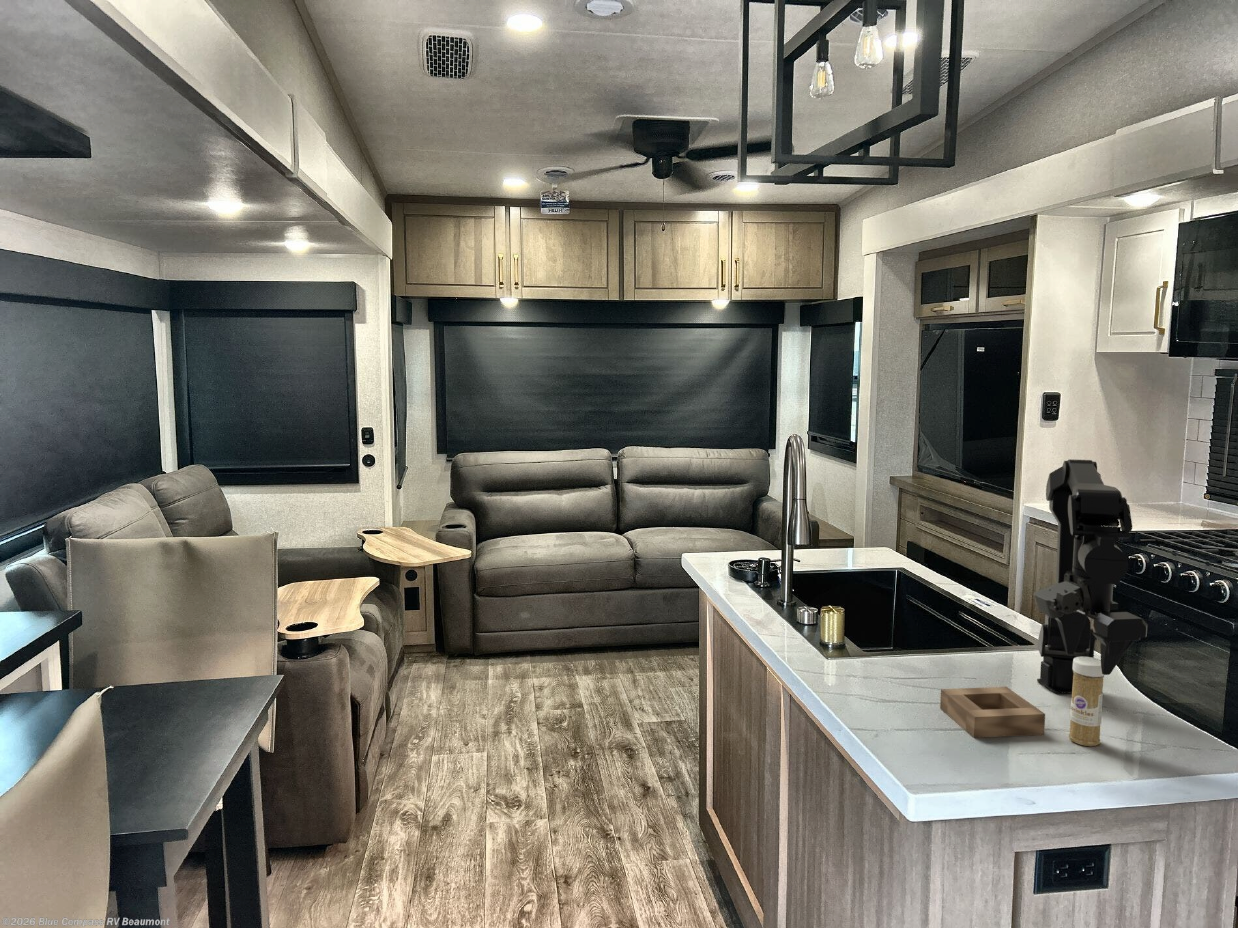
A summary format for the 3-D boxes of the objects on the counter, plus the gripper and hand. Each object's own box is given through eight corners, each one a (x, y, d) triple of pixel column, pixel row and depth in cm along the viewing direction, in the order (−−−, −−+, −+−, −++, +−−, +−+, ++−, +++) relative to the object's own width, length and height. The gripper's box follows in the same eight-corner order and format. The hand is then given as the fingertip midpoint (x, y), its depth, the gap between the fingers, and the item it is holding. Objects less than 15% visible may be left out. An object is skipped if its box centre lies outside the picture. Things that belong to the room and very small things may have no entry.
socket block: (1005, 705, 153) (1006, 686, 153) (1044, 734, 141) (1045, 713, 141) (940, 708, 152) (940, 689, 152) (973, 737, 140) (974, 716, 140)
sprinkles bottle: (1065, 741, 138) (1069, 660, 137) (1072, 732, 142) (1076, 653, 140) (1097, 749, 135) (1102, 667, 134) (1103, 740, 139) (1108, 659, 137)
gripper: (1012, 556, 144) (1007, 646, 146) (1080, 585, 125) (1074, 688, 127) (1075, 554, 145) (1070, 644, 147) (1152, 582, 126) (1146, 685, 128)
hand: (1087, 663), depth 137 cm, fingers open, 9 cm apart
